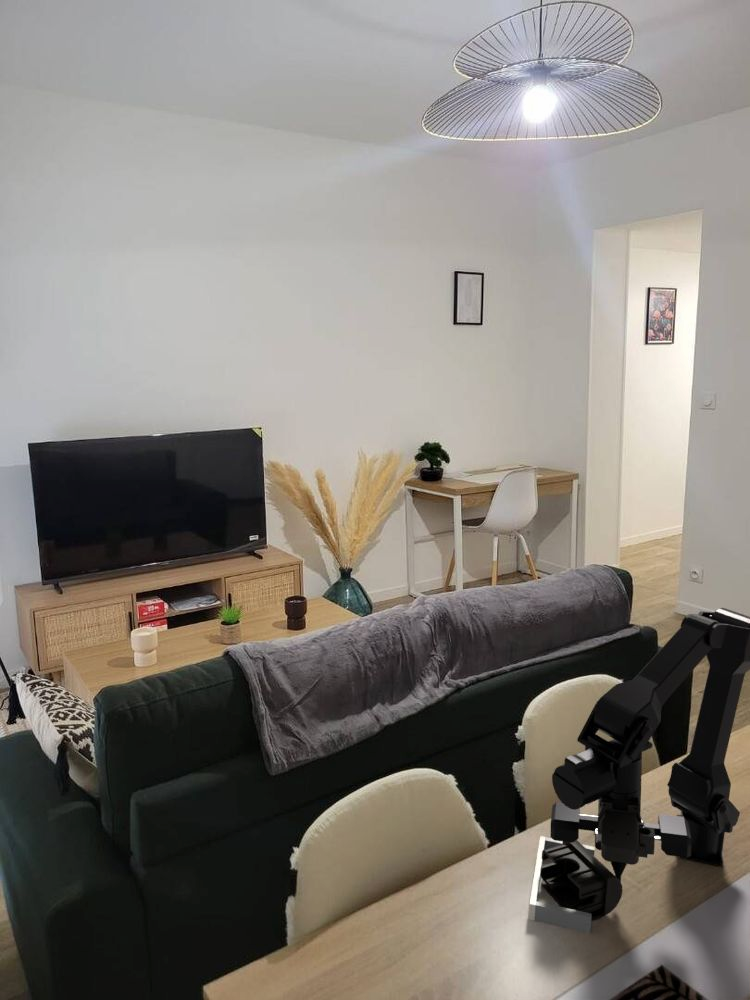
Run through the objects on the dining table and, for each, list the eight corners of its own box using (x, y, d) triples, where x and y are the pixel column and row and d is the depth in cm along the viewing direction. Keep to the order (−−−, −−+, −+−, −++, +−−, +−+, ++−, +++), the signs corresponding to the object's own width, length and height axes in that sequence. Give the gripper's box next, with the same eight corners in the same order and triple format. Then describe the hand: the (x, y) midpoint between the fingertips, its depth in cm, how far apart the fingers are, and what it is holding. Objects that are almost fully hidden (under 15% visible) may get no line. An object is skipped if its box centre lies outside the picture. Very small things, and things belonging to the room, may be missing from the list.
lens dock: (593, 861, 120) (594, 847, 120) (590, 933, 106) (591, 917, 105) (539, 849, 123) (540, 835, 122) (528, 919, 108) (529, 903, 108)
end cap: (621, 914, 109) (625, 873, 108) (580, 929, 107) (584, 886, 105) (576, 870, 118) (579, 830, 117) (537, 882, 116) (540, 842, 114)
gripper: (548, 807, 104) (548, 909, 107) (698, 825, 98) (693, 932, 101) (552, 764, 114) (552, 858, 117) (688, 778, 109) (684, 876, 112)
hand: (617, 880), depth 112 cm, fingers closed
